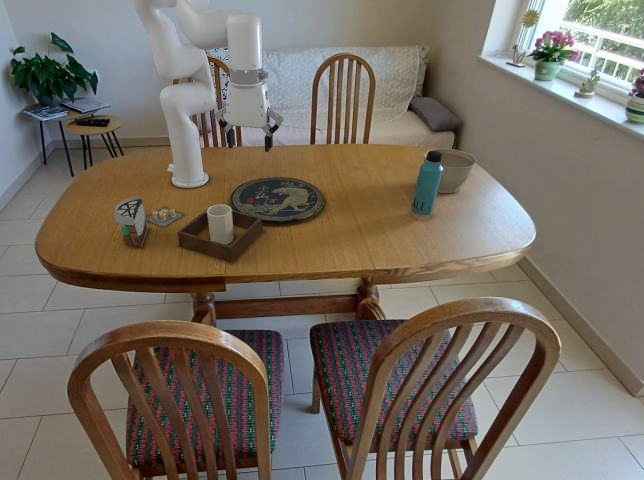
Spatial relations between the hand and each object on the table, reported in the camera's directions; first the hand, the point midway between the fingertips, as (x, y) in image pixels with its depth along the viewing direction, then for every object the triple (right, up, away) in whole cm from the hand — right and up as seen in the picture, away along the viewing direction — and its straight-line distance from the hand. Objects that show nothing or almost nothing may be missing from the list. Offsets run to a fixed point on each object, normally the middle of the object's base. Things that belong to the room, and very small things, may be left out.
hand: (249, 148), depth 104 cm
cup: (-8, -22, +10) cm, 26 cm away
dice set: (-27, -16, +19) cm, 37 cm away
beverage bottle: (+50, -15, +21) cm, 57 cm away
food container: (-33, -23, +10) cm, 41 cm away
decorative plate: (+7, -10, +27) cm, 30 cm away
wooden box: (-8, -22, +10) cm, 26 cm away
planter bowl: (+63, -4, +36) cm, 72 cm away
